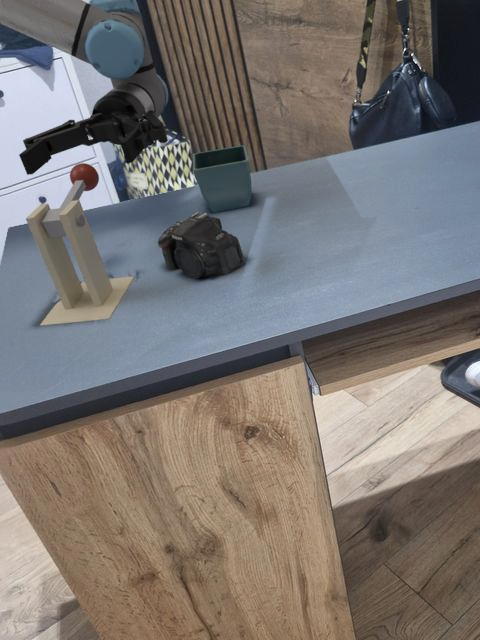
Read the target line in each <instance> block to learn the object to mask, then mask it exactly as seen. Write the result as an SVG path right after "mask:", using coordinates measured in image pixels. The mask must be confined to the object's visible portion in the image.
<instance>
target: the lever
mask: <svg viewBox="0 0 480 640" xmlns="http://www.w3.org/2000/svg"><path fill="white" fill-rule="evenodd" d="M69 179H70V182H71V184H72V186H71V188H70V189H69V191H68V192H67V195H66V196H65V198H64V200H63V202H62V203H61V205H60V206H59V208H50V210H49V211H48V213H47V215H46V216H45V218H44V220H43V221H42V223H43V225H44V227H45V228H46V230H47V232H48V234H49V236H50V238H58V237H62V238H67V236H66V233H65V231H64V228H63V226H62V223H61V221H60V218H59V216H58V215H59V214H60V213H61V212H62V211H63V210H64V209H65V208H66V207H67V205H68V204H69V203H70V202H71V201H75V200H80V199H81V197H82V195H83V193H84V192H89V191H90V192H91V191H93V190H94V189H95V188H96V187H97V186H98V184H99V181H100V176H99V173H98V170H97V169H96V168H95V167H94V166H92V165H91V164H89V163H86V162H85V163H84V162H82V163H81V162H80V163H77V164H75V165H74V166H73V167H72V168H71V170H70V172H69Z"/></svg>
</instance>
